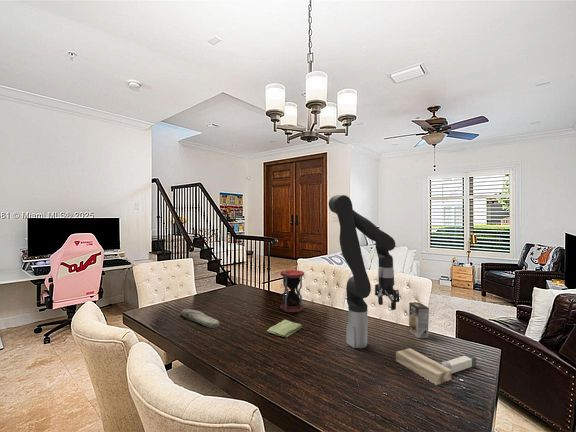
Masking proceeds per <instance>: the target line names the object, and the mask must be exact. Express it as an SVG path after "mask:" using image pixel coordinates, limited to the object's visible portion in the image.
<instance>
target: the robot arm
mask: <svg viewBox="0 0 576 432" xmlns="http://www.w3.org/2000/svg"><path fill="white" fill-rule="evenodd" d="M328 207H329V210H330V211H331V212H332V213H334V214H335V215H336V216H337V219H338V223H339V238H338V239H339V245H340V250H341V254H342V257H343V259H344V260H345V263H346V264H347V265H348V267H349V268H350V271H351V273H352V276H351V277H349V278H348V280H347V282H346V288H345V290H346V291H345V292H346V304H347V307H348V312H347V315H348V318H347V320H348V321H347V324H346V340H345V342H346V344H347V345H349V346H350V347H352V348H353V349H364V348H367V346H368V304H367V302H366V301H365V299H366V298H368V297H369V296H370V294H371V292H372V286H371V282H370V279H369V276H368V273H367V271H366V267H365V262H364V258H363V254H362V250H361V249H362V248H361V244H360V240H359V236H358V231H359V232H361V234H363V235H364V236H365V237H366V238H368V239H369V240H371V241H373V242H374V243H375V250H376V254H377V258H378V268H377V269H378V270H377V272H378V273H377V275H378V279H377V280H378V281H377V282H378V283H376V284H374V295H375V297H377V301H378V305H379V306H383V304H384V298H383V297H384V296H385V297H387V298H388V299H389V300H390V310H392V311H395V310H396V309H397V303H399V302H400V292H399V291H400V290H399V289H395V288H394V286H395V270H394V259H393V256H392V255H391V254H390V251H394V249H395V248H396V240H395V239H394V238H393V237H392V236H391V235H389V234H388V233H386V232H384V231H383V230H381V229H380V228H379V227H378V226H377V225H376V224H374V223H373V222H372V221H371V220H369V219H368V218H367V217H364V216H363V215H361V214H360V213H358V212H357V211H355V210H354V208H353V202H352V200H351V197H349V196H348V195H346V194H338V195H337V194H336V195H334V196H332V197H331V198H330V199H329V200H328ZM357 230H358V231H357Z"/></svg>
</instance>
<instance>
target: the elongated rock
mask: <svg viewBox="0 0 576 432" xmlns="http://www.w3.org/2000/svg"><path fill="white" fill-rule="evenodd" d="M180 313H181V314H180V315H181V316H183V317H184V318H186V320H189V321H193V322H195V323H197V324H200V325H202V326H204V327H207V328H210V329H211V328H212V329H215V328H219V327H220V321H219V320H218V319H217V318H213V317H211V316H209V315H208V314H205V312H203V311H200V310H197V309H191V308H186V309H182V310H181V312H180Z"/></svg>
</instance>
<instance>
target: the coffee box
mask: <svg viewBox="0 0 576 432" xmlns="http://www.w3.org/2000/svg"><path fill="white" fill-rule="evenodd" d="M408 305H409V306H408V309H409V310H408V311H409V312H408V322H409V323H408V331H409V333H411V334H412V335H413V336H415V337H416V338H417V339H428V338H429V319H430V318H429V317H430V313H429V312H430V307H428V306H426V305H425V304H423V303H422V302H414V301H413V302H409V304H408Z"/></svg>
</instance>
